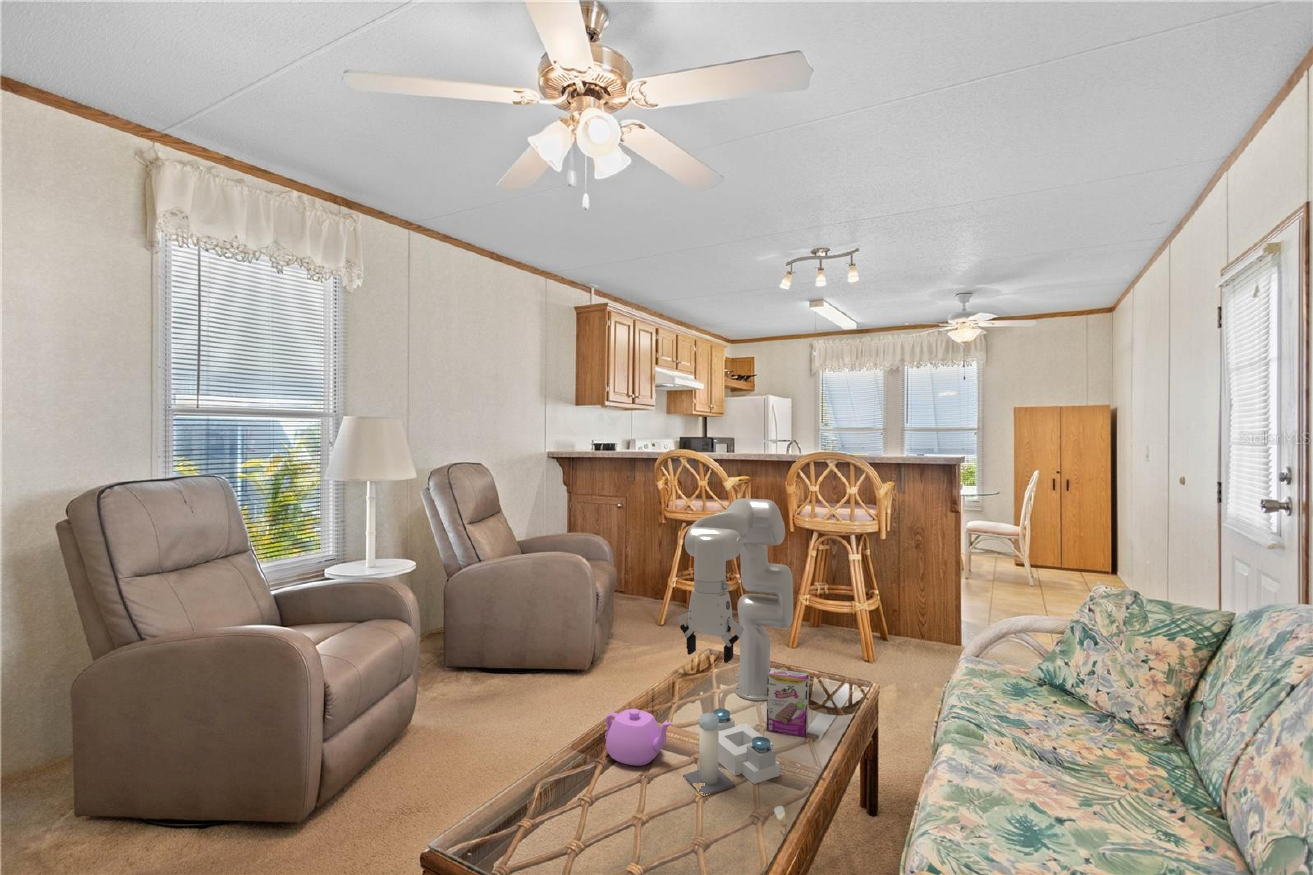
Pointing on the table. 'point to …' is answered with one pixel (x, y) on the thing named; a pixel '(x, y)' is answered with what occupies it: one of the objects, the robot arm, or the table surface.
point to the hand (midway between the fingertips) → (709, 656)
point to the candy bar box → (787, 702)
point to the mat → (714, 788)
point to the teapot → (634, 737)
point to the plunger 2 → (761, 744)
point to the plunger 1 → (722, 714)
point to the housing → (745, 753)
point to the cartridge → (708, 748)
